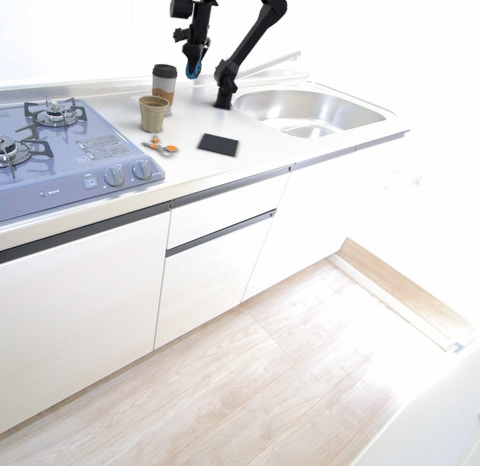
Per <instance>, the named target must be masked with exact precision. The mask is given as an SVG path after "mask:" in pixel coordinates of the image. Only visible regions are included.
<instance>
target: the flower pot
mask: <svg viewBox="0 0 480 466" xmlns="http://www.w3.org/2000/svg"><path fill="white" fill-rule="evenodd" d="M137 102H138V103H139V107H140V121H141V129H142V130H143V131H147V132H149V133H158V132H160V131H161V130H162V127H163V124H164V120H165V117H164V116H165V112H166V110H167V107H168V106H169V101H168V100H166V99H164V98H161V97H158V96H152V95H142V96H140V97H138V98H137Z"/></svg>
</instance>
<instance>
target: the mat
mask: <svg viewBox="0 0 480 466" xmlns="http://www.w3.org/2000/svg"><path fill="white" fill-rule="evenodd" d="M238 145H239V140H238V139H233V138H229V137H224V136H219V135H216V134H215V135H214V134H210V133H206V132H205V133H204V134H203V137H202V138H201V140H200V143H199V144H198V146H197V149H198V150H202V151H206V152H207V151H208V152H212V153H216V154H221V155H224V156H229V157H236V153H237V148H238Z"/></svg>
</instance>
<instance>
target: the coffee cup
mask: <svg viewBox="0 0 480 466" xmlns="http://www.w3.org/2000/svg"><path fill="white" fill-rule="evenodd" d="M177 69H178V68H177V67H176V66H175V65H171V64H167V63H156V64H154V65H153V68H152V72H151V74H152V86H151V87H152V88H151V96H158V97H161V98H164V99H166V100H168V101H169V106H168V107H167V110H166V112H165V116H164V118H165V117H169V116H170V114H171V111H172V106H173V102H174V96H175V89H176V84H177V78H178V70H177Z"/></svg>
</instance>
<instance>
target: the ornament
mask: <svg viewBox="0 0 480 466" xmlns="http://www.w3.org/2000/svg"><path fill="white" fill-rule="evenodd" d="M202 66H203V64H202V62H201V58H200V60H199V62H198V64H197V66H196V68H195V70H194V72H193V74H192V75H189V68H188V61H187V63H186V65H185V70H184V71H185V72H184V73H185V76H186V78H187V79H188V80H197V79H198V78H199V76H200V74H201V73H202Z"/></svg>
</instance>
